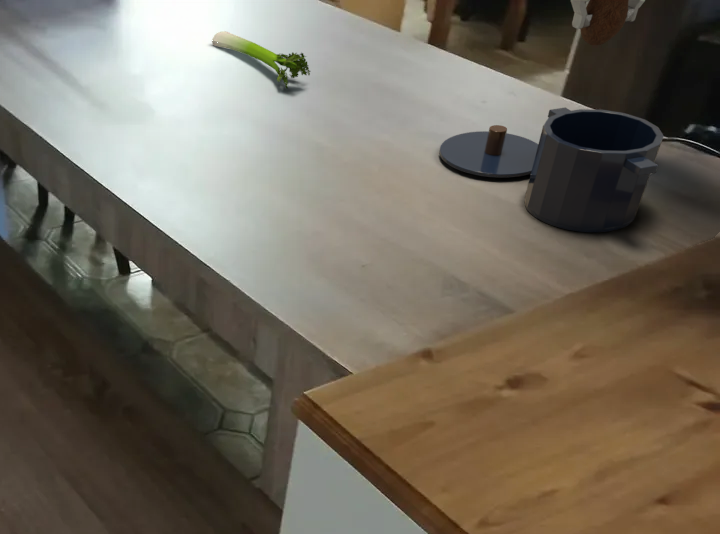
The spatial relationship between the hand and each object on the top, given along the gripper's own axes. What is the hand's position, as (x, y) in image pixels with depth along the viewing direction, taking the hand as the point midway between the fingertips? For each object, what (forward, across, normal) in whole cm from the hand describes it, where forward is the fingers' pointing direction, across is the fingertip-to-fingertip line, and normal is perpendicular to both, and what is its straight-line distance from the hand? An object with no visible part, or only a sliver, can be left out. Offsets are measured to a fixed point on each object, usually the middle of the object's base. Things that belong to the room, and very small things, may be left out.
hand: (603, 24), depth 123 cm
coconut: (+3, 0, 0) cm, 3 cm away
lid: (+17, -11, +2) cm, 21 cm away
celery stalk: (+18, -30, +50) cm, 61 cm away
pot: (+18, -8, -15) cm, 25 cm away
